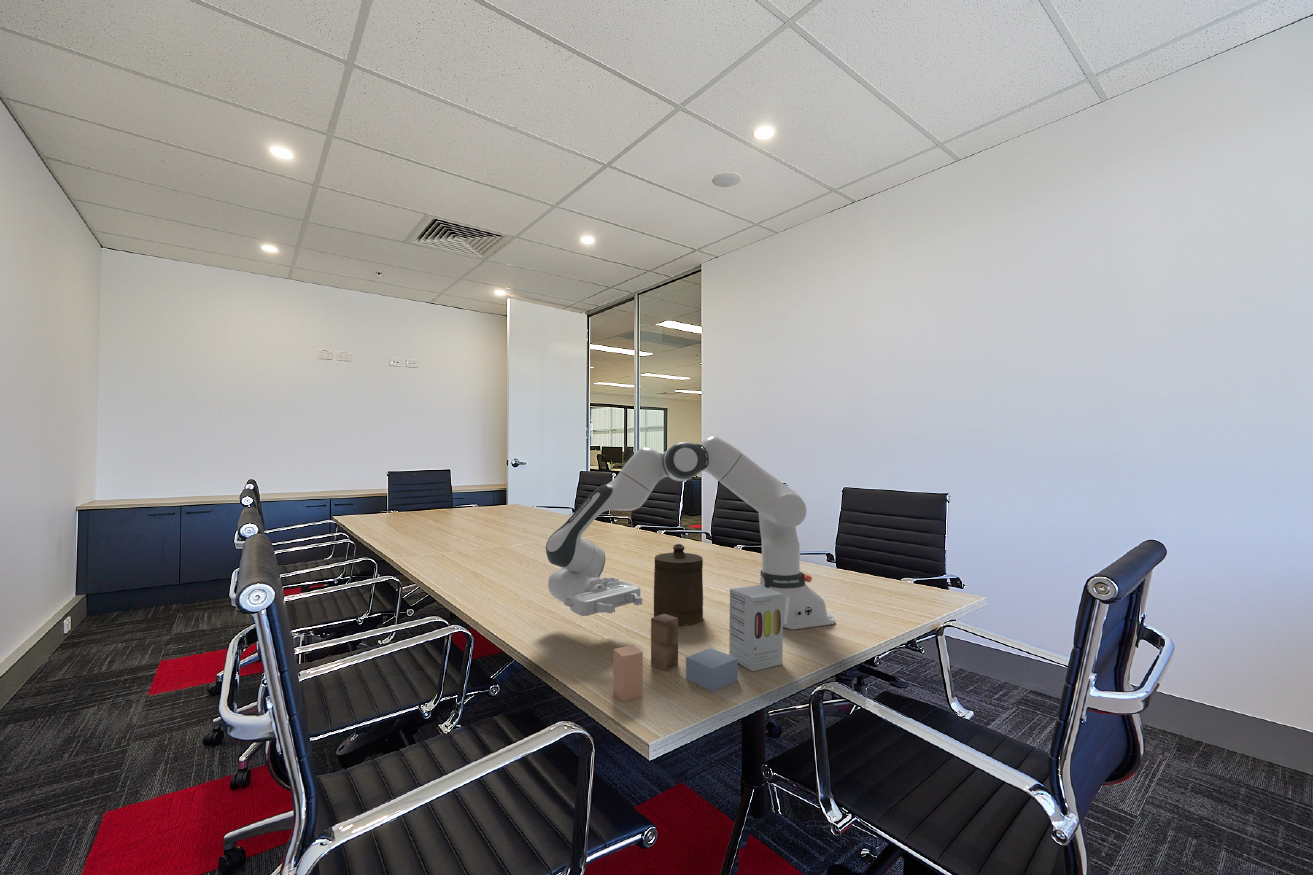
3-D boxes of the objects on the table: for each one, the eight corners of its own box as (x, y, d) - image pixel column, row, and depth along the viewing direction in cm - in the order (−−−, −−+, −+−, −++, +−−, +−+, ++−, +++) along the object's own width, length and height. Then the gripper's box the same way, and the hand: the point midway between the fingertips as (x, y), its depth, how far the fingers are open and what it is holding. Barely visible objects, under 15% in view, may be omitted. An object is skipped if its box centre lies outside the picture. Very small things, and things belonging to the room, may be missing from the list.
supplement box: (751, 672, 117) (751, 597, 117) (727, 657, 125) (727, 588, 125) (784, 664, 121) (784, 592, 122) (759, 650, 130) (759, 583, 130)
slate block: (710, 669, 119) (710, 647, 119) (737, 681, 113) (737, 658, 113) (686, 679, 114) (686, 656, 114) (712, 692, 108) (713, 668, 108)
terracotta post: (632, 687, 109) (632, 644, 110) (642, 696, 105) (642, 652, 106) (613, 692, 107) (613, 648, 107) (622, 701, 103) (622, 656, 103)
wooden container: (696, 608, 163) (696, 539, 164) (708, 624, 149) (708, 548, 149) (650, 611, 161) (650, 540, 162) (658, 627, 146) (658, 549, 147)
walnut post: (663, 659, 124) (663, 613, 124) (677, 665, 121) (678, 617, 121) (650, 665, 121) (651, 618, 121) (665, 671, 118) (665, 622, 118)
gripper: (560, 589, 131) (595, 601, 122) (619, 576, 146) (654, 585, 137) (559, 614, 131) (595, 628, 122) (618, 598, 146) (654, 609, 137)
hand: (627, 605), depth 129 cm, fingers open, 8 cm apart
